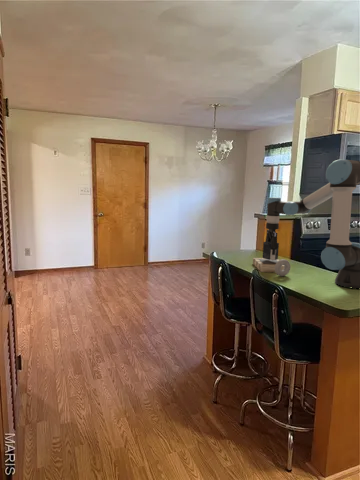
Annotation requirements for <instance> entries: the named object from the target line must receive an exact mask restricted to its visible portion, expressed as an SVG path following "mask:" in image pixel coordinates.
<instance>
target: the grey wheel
mask: <svg viewBox="0 0 360 480" xmlns="http://www.w3.org/2000/svg"><path fill="white" fill-rule="evenodd" d="M282 265H284V269H283V270H281V266H282ZM290 271H291V263H290V261H289V260H287V259H284V258H281V259H279V261H278V262H277V263H276V265H275V272H274V273H275V274H276V275H278V276H279V277H286V275H288V274H289V273H290Z"/></svg>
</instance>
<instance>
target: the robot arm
mask: <svg viewBox="0 0 360 480" xmlns="http://www.w3.org/2000/svg"><path fill="white" fill-rule="evenodd" d="M325 178H326V180H327V182H328V183H327V184H325V185H323V186H322V187H320V188H318V189H316V191H313V192H312V193H310V194H308V195H307V196H306V197H304V198H302V199H301V200H299V201H282V198H281V197H276V196H275V197H274V196H273V197H272V196H271V197H268V198H267V210H266V216H265V219H266V224H265V228H266V236H265V242H267V241H270V242H271V255H270V260H275V252H276V249H277V243H278V233H277V232H276V231H277V230H279V227H280V223H279V222H280V214H282V215H287V216H294V215H306V214H309V213H310V212H311V210H312V209H313V208H316V207H317V206H319V205H321V204H323V203H324V202H326V201H328V200H329V199H331V198H332V199H331V215H330V233H329V239H328V240H327V241H326V244H325V248H324V249H322V251H321V253H320V254H321V255H320V260H321V263H322V264H323V265H324V266H325V268H327V269H329V270H332V271H338V273H337V275H336V277H335V279H334V284H335V283H336V284H335V285H337V284H338V285H337V286H339V285H341V286H340V287H342V286H345V287H352V288H360V243H359V242H355V241H354V242H353V241H351V240H350V230H351V229H350V227H351V218H352V217H351V216H352V215H351V213H352V202H353V201H352V200H353V191H354V190H356V189H357V186H358V185H360V160H352V159H351V160H350V159H337V160H334V161H332V163H330V164H329V165H328V167H327V168H326V170H325ZM345 287H344V288H345Z"/></svg>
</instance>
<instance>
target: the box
mask: <svg viewBox="0 0 360 480" xmlns="http://www.w3.org/2000/svg"><path fill="white" fill-rule="evenodd" d="M262 243H263V244H262V258H264V259H269V260H270V255H271V242H270V241H267V242H266V241H263V242H262ZM279 248H280V243H279V242H277V249H276V252H275V260H277V259H279Z"/></svg>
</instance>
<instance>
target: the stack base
mask: <svg viewBox="0 0 360 480" xmlns="http://www.w3.org/2000/svg"><path fill="white" fill-rule="evenodd" d="M279 260H280V259H279V258H278V259H277V260H269V259H264V258H263V257H253V258H252V265H253V266H254V267H256V269H257V270H258V271H259V272H260V273H276V272H275V265H276V263H277V262H278V261H279ZM283 269H284V265H282V266H281V270H283Z"/></svg>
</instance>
